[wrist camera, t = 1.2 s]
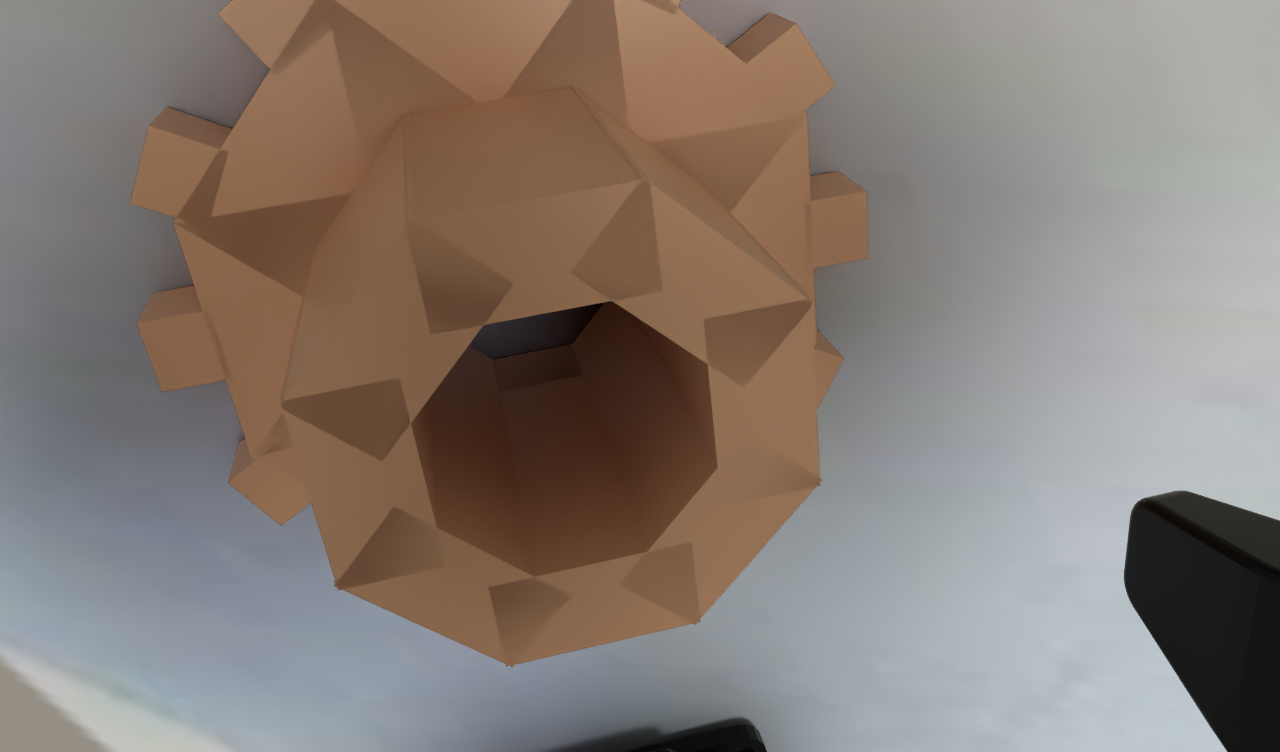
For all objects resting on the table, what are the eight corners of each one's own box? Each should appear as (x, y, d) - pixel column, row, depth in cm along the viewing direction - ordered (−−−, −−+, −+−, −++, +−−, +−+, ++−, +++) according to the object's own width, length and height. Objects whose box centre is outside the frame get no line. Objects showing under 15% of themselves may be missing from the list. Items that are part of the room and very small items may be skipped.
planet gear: (847, 477, 20) (1009, 699, 15) (264, 603, 19) (211, 899, 13) (828, -161, 15) (1062, -173, 10) (31, -54, 14) (-201, 0, 8)
